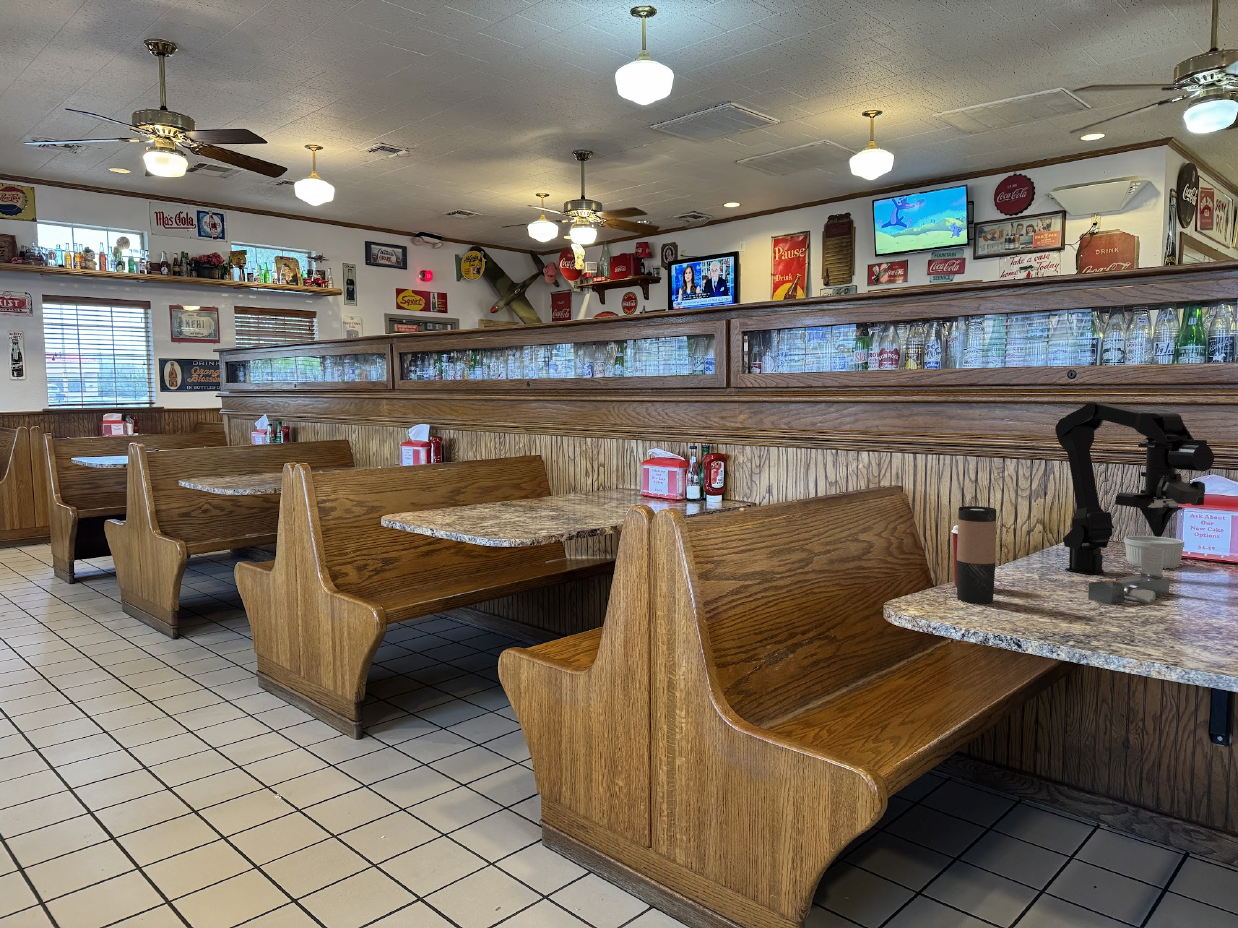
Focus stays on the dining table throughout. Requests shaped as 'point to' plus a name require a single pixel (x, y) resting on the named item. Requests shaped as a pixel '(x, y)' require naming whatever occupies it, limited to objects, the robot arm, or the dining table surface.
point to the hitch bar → (1116, 590)
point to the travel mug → (976, 554)
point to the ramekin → (1169, 545)
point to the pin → (1138, 594)
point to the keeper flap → (1152, 562)
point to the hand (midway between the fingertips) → (1158, 536)
